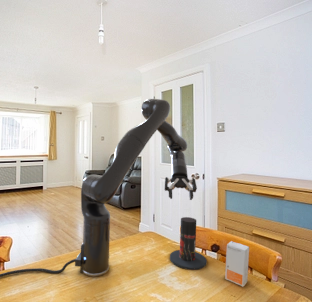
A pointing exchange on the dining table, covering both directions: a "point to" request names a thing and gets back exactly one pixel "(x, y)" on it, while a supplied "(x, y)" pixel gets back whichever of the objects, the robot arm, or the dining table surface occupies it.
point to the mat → (191, 265)
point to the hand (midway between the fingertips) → (181, 198)
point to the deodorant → (187, 239)
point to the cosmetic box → (237, 263)
